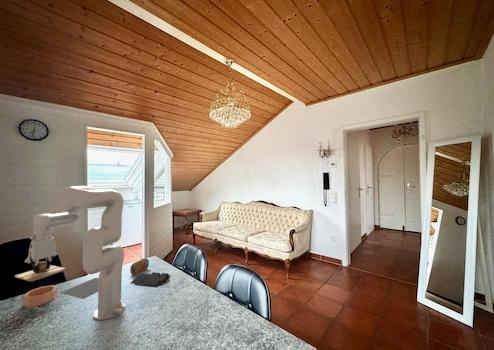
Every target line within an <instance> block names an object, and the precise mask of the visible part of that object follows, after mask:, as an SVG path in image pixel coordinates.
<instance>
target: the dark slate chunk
mask: <svg viewBox="0 0 494 350" xmlns="http://www.w3.org/2000/svg"><path fill="white" fill-rule="evenodd" d="M170 276H171V275H170V274H169V272H167V273H166V272H163V273H161V272H154V271H153V272H151V273H147V272H146V273H144V272H142V273H140V274H138V275H136V277H135V278H134V279H132V281H131V282H130V283H129V284H131V285H132V284H133V286H137V287H147V288H158V287H161V286H162V285H161V284H162V283H164V284H165V282H166V281H167V280H168V279H169V280H170V278H171V277H170ZM169 277H170V278H169ZM169 280H168V281H169ZM168 281H167V282H168ZM167 282H166V283H167Z"/></svg>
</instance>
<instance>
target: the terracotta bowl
mask: <svg viewBox="0 0 494 350" xmlns="http://www.w3.org/2000/svg"><path fill="white" fill-rule="evenodd" d="M57 296H58V286H57V285H46V286H40V287H37V288H34V289H31V290H29V291H27V293H25V294H24V295H23V298H22V299H23V304H22V306H23V307H26V308H34V307H37V306H41V305H44V304H46V303H48V302H50V301H53V300H55V298H56V297H57Z"/></svg>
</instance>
